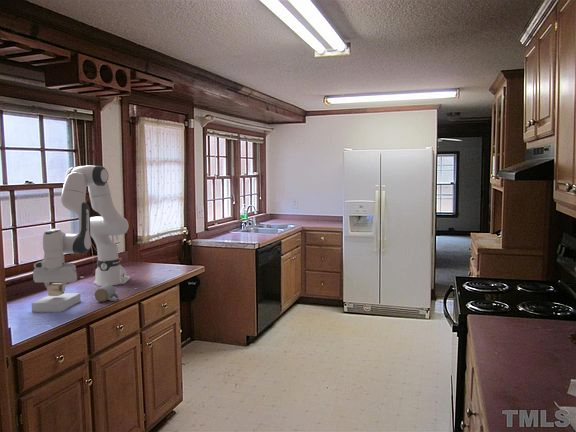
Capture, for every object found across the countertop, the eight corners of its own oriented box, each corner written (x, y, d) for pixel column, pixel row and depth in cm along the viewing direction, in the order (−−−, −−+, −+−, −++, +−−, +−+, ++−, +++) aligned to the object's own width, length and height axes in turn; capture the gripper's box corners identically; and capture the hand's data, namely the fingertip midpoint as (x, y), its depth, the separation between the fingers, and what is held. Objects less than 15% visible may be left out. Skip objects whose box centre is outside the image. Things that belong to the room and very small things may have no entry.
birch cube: (54, 293, 231) (53, 283, 231) (64, 293, 231) (63, 283, 231) (48, 295, 226) (47, 285, 226) (58, 295, 226) (57, 285, 226)
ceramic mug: (93, 302, 235) (93, 287, 234) (101, 298, 243) (101, 283, 242) (114, 303, 234) (113, 287, 233) (121, 298, 242) (121, 283, 241)
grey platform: (53, 300, 239) (53, 293, 238) (80, 301, 238) (80, 293, 237) (32, 311, 221) (31, 303, 220) (61, 311, 220) (60, 303, 219)
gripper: (78, 261, 230) (80, 289, 231) (38, 261, 231) (40, 289, 232) (71, 264, 223) (73, 292, 225) (30, 264, 225) (32, 292, 226)
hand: (56, 291), depth 229 cm, fingers closed on birch cube, 5 cm apart
